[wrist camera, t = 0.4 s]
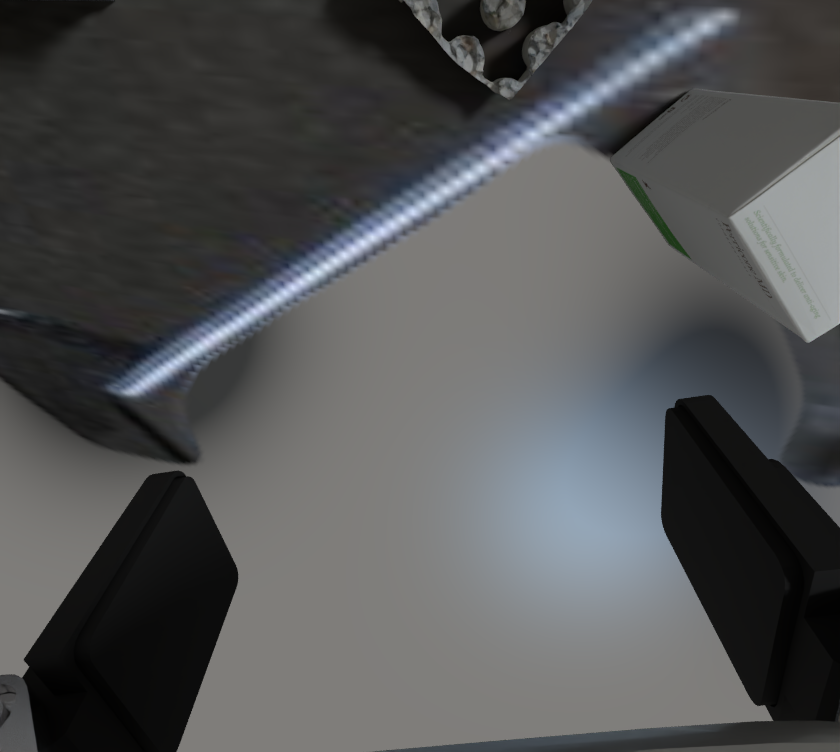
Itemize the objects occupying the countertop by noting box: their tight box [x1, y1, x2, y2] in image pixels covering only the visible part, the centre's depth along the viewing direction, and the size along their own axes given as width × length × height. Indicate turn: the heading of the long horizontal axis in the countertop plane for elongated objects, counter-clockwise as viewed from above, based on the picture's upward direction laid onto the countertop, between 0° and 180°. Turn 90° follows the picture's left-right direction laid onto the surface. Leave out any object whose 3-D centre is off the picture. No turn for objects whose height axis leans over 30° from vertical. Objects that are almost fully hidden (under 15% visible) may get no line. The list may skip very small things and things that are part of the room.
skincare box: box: [610, 89, 840, 343], centre depth 29 cm, size 8×7×16 cm
